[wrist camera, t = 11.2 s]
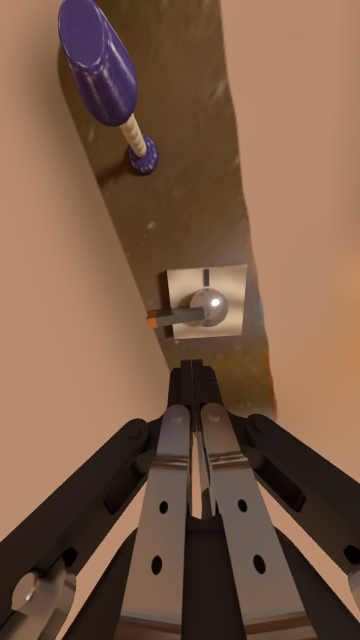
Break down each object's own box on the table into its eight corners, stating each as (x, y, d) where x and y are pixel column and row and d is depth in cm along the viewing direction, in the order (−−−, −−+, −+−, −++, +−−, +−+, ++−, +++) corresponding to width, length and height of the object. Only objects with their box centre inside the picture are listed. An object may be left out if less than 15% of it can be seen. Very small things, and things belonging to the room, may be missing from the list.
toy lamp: (160, 178, 26) (128, 84, 10) (130, 180, 26) (56, 90, 11) (156, 135, 24) (112, -57, 8) (124, 138, 24) (22, -47, 9)
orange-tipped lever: (224, 284, 30) (229, 290, 27) (227, 319, 33) (232, 328, 30) (146, 298, 31) (142, 305, 28) (155, 331, 34) (152, 340, 31)
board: (238, 330, 37) (241, 335, 34) (174, 334, 37) (174, 339, 35) (243, 263, 31) (247, 264, 29) (167, 269, 31) (166, 271, 29)
